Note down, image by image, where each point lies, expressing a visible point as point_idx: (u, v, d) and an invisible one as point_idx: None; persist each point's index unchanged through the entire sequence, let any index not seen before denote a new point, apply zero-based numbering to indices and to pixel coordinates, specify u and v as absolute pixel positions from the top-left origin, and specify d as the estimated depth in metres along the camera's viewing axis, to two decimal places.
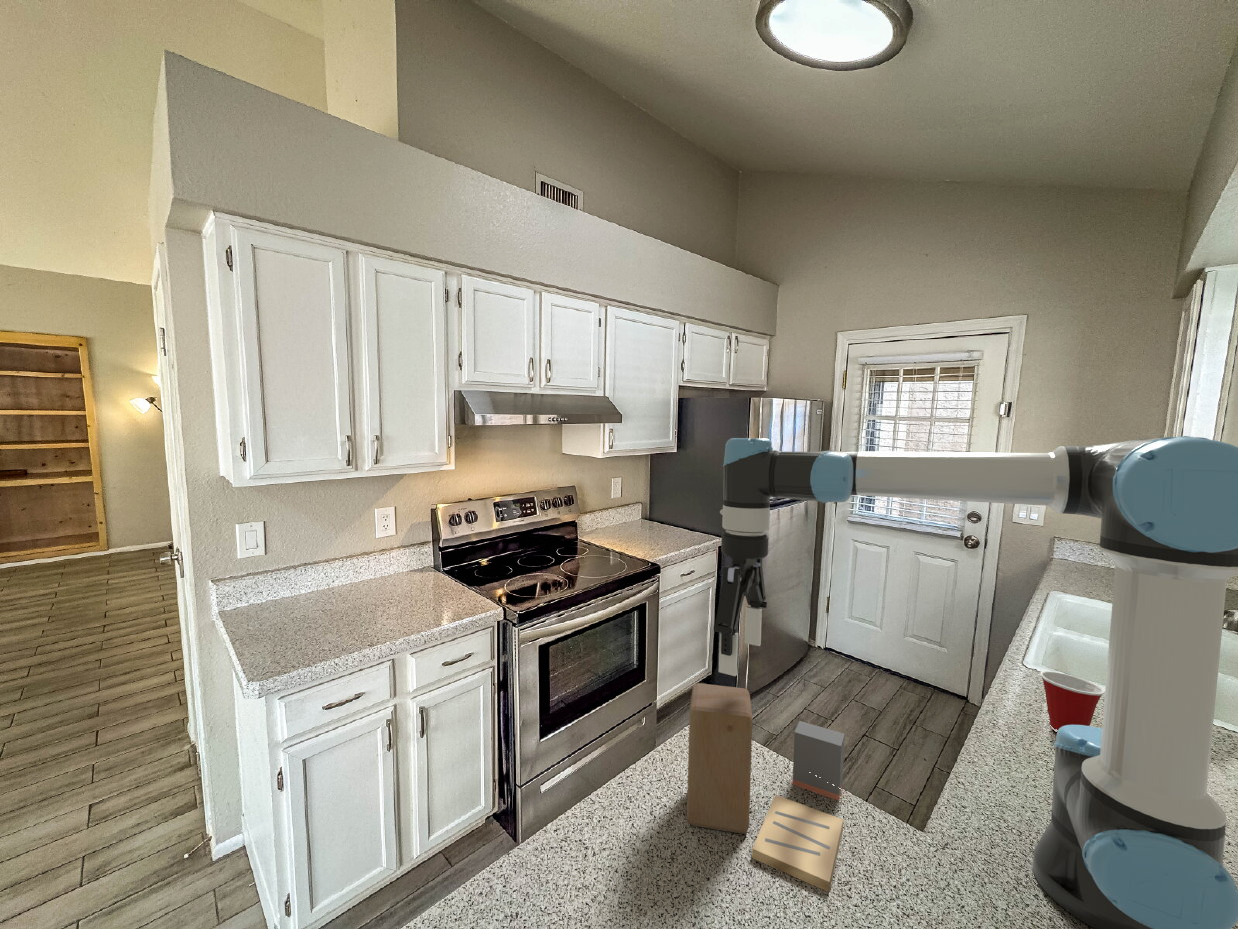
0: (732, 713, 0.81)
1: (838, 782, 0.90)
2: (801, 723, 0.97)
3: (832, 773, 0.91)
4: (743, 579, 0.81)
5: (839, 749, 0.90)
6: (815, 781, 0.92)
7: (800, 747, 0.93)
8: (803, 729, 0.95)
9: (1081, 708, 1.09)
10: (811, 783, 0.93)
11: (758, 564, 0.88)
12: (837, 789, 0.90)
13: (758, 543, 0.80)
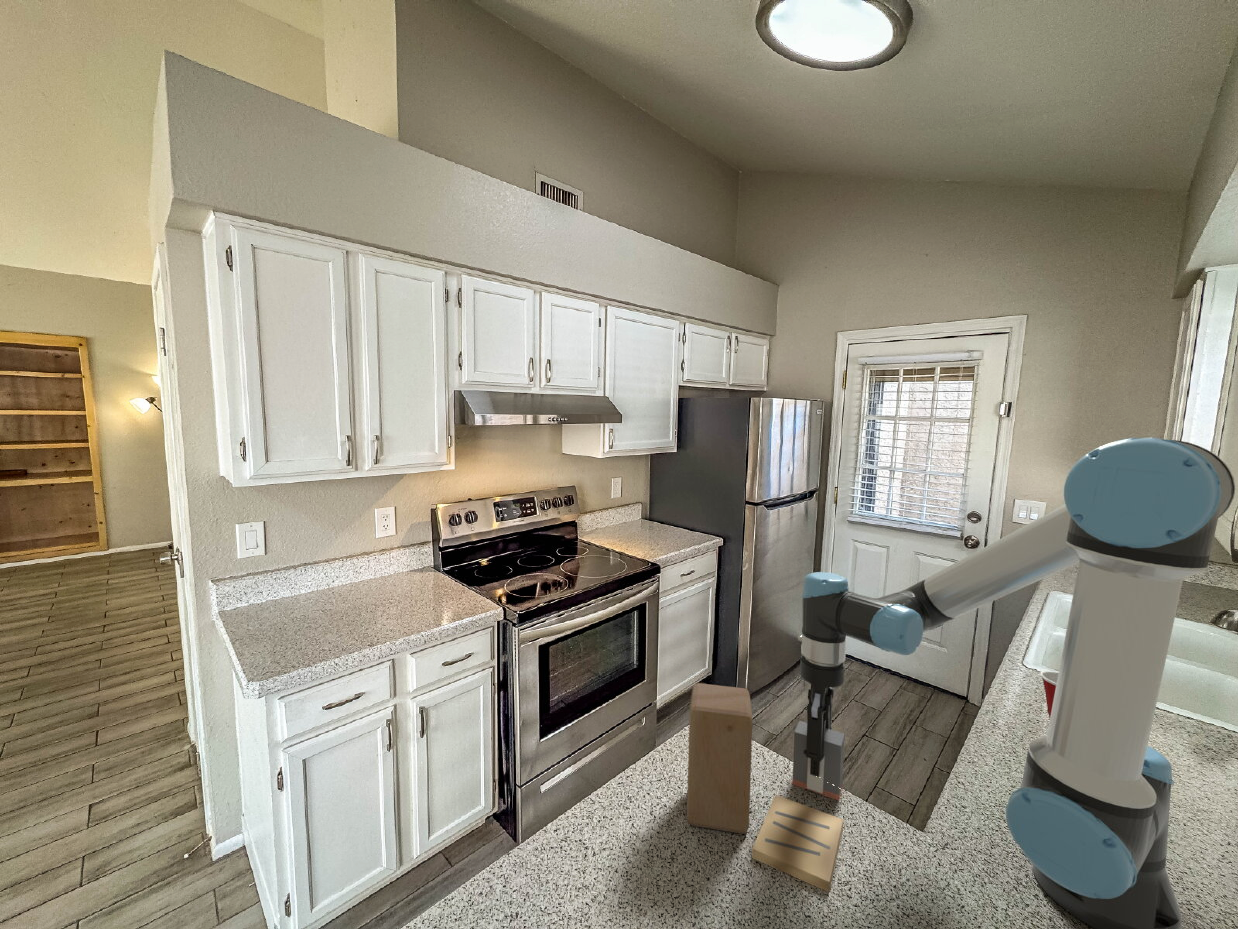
0: (732, 713, 0.81)
1: (838, 782, 0.90)
2: (801, 723, 0.97)
3: (832, 773, 0.91)
4: (823, 705, 0.90)
5: (839, 749, 0.90)
6: None
7: (800, 746, 0.93)
8: (803, 728, 0.95)
9: None
10: None
11: (830, 688, 0.97)
12: (837, 789, 0.90)
13: (837, 673, 0.90)
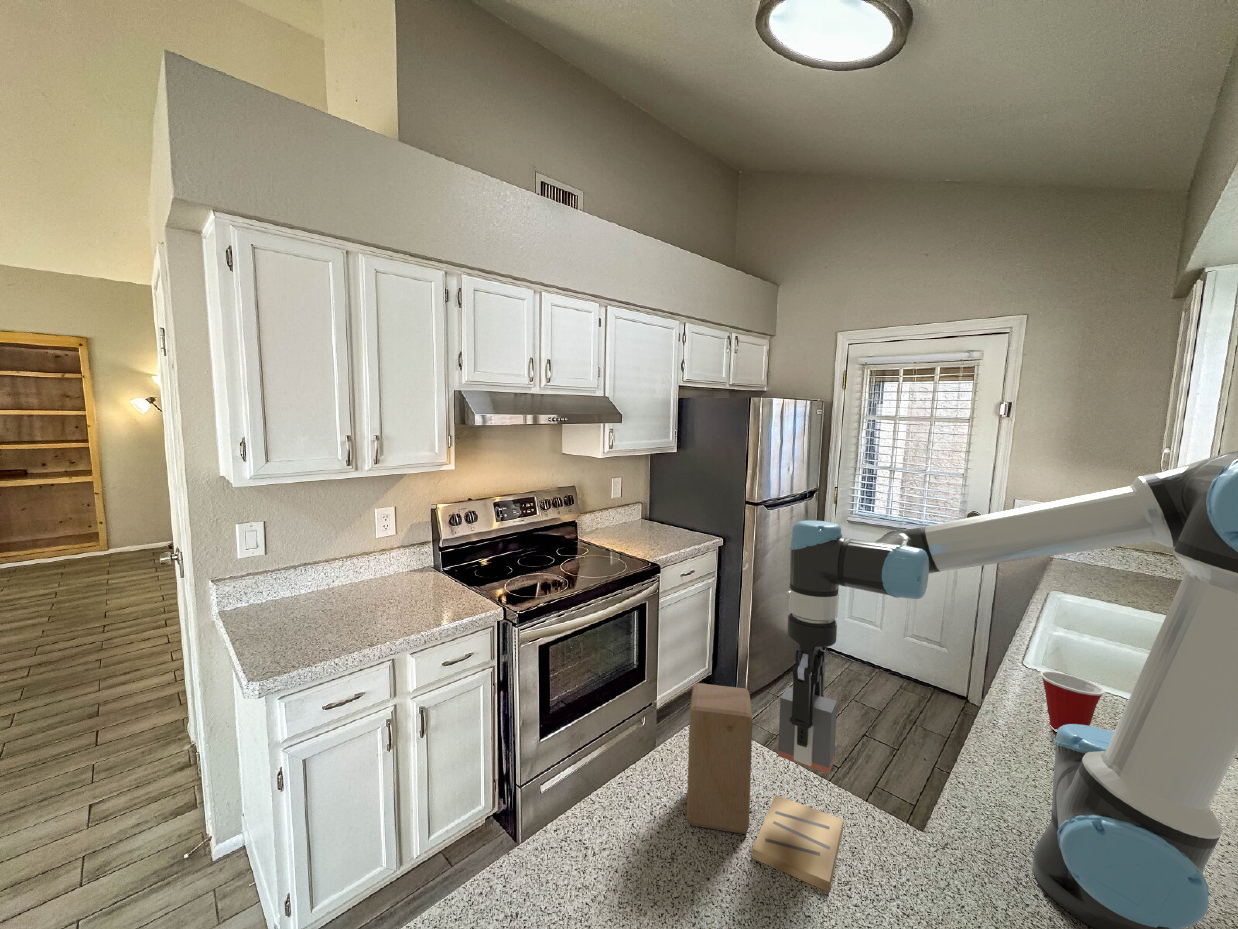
0: (732, 713, 0.81)
1: (828, 753, 0.80)
2: (789, 689, 0.87)
3: (822, 744, 0.81)
4: (812, 667, 0.80)
5: (829, 716, 0.80)
6: None
7: (786, 714, 0.84)
8: (790, 695, 0.85)
9: (1081, 708, 1.09)
10: None
11: None
12: (827, 761, 0.80)
13: (827, 631, 0.80)
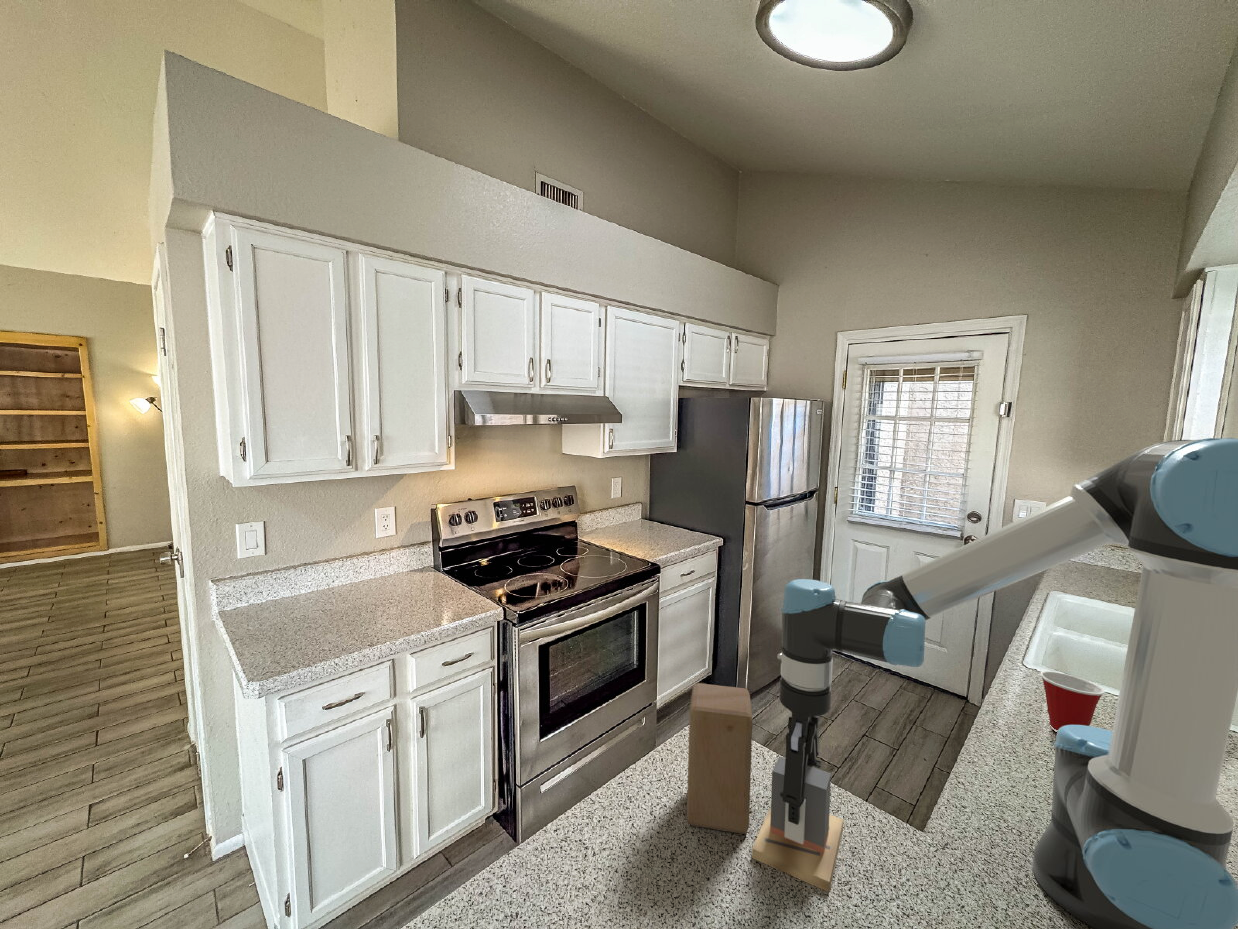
0: (732, 713, 0.81)
1: (823, 832, 0.76)
2: (781, 759, 0.83)
3: (816, 821, 0.77)
4: (806, 736, 0.76)
5: (824, 793, 0.76)
6: None
7: (778, 788, 0.80)
8: (783, 766, 0.81)
9: (1081, 708, 1.09)
10: None
11: None
12: (821, 840, 0.77)
13: (821, 700, 0.76)
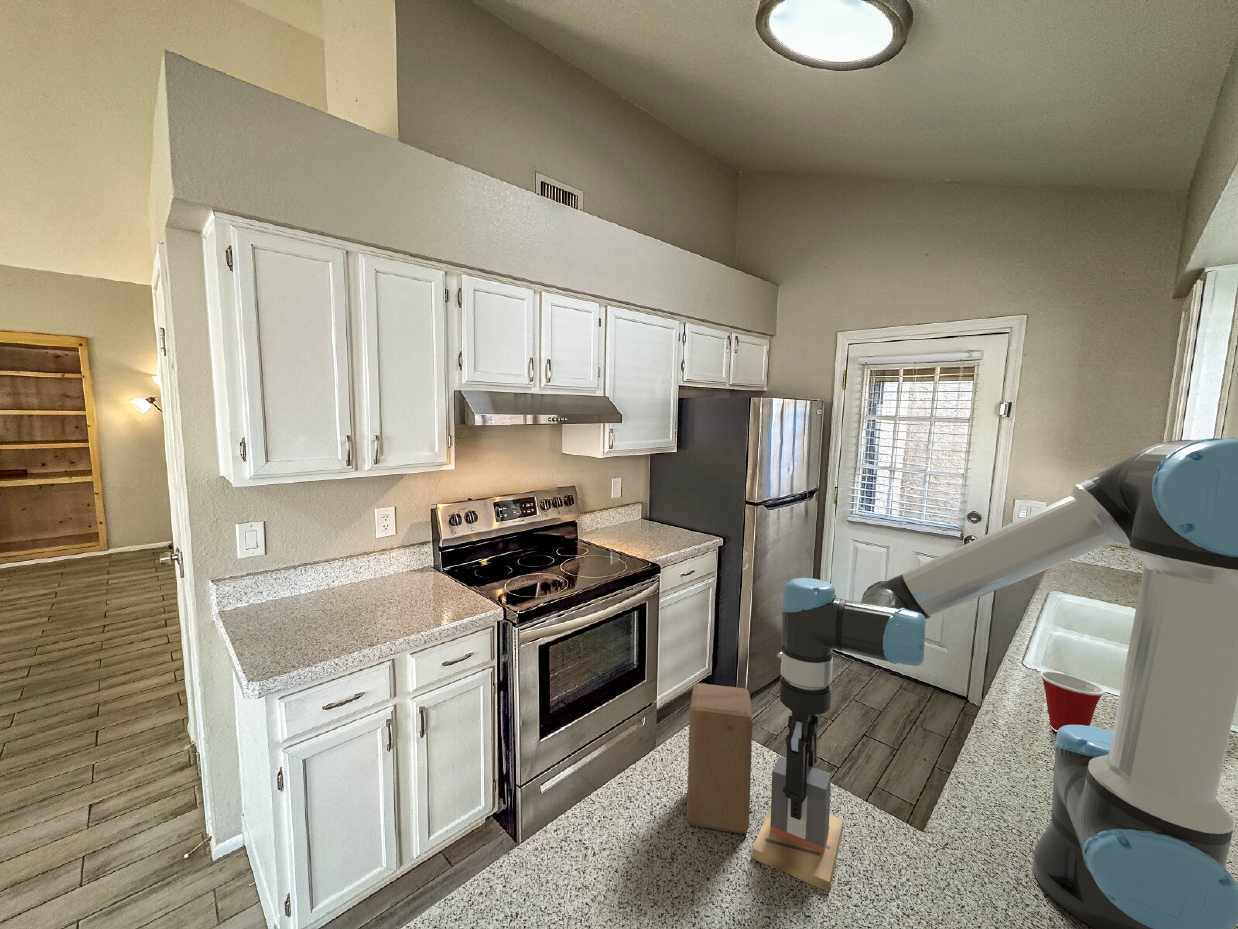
0: (732, 713, 0.81)
1: (823, 832, 0.76)
2: (781, 759, 0.83)
3: (816, 821, 0.77)
4: (806, 735, 0.76)
5: (824, 793, 0.76)
6: None
7: (778, 788, 0.80)
8: (783, 767, 0.81)
9: (1081, 708, 1.09)
10: None
11: None
12: (821, 840, 0.77)
13: (821, 698, 0.76)
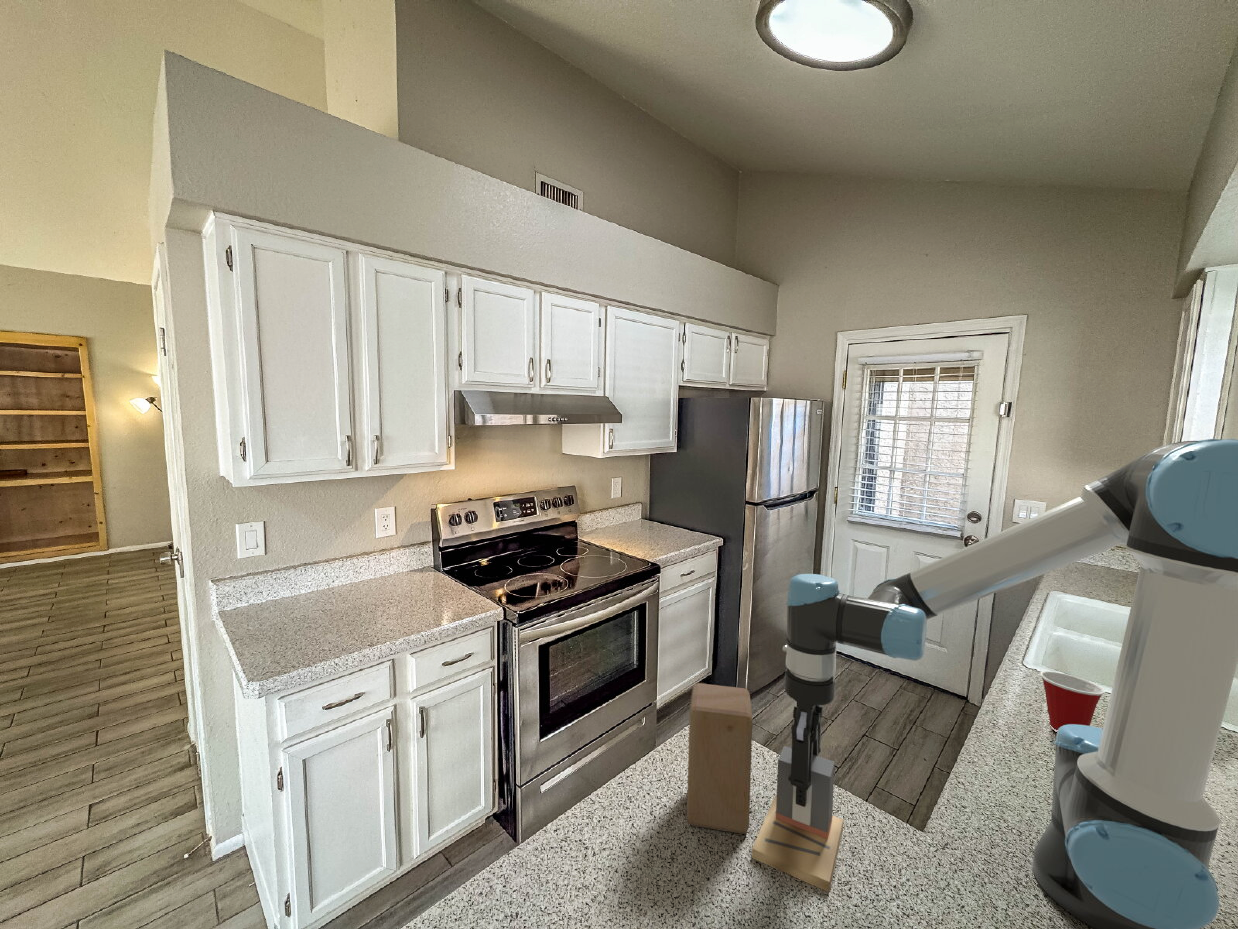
0: (732, 713, 0.81)
1: (827, 818, 0.79)
2: (786, 748, 0.86)
3: (820, 808, 0.80)
4: (810, 725, 0.79)
5: (828, 780, 0.79)
6: None
7: (784, 776, 0.83)
8: (788, 755, 0.84)
9: (1081, 708, 1.09)
10: None
11: None
12: (826, 826, 0.79)
13: (825, 689, 0.79)
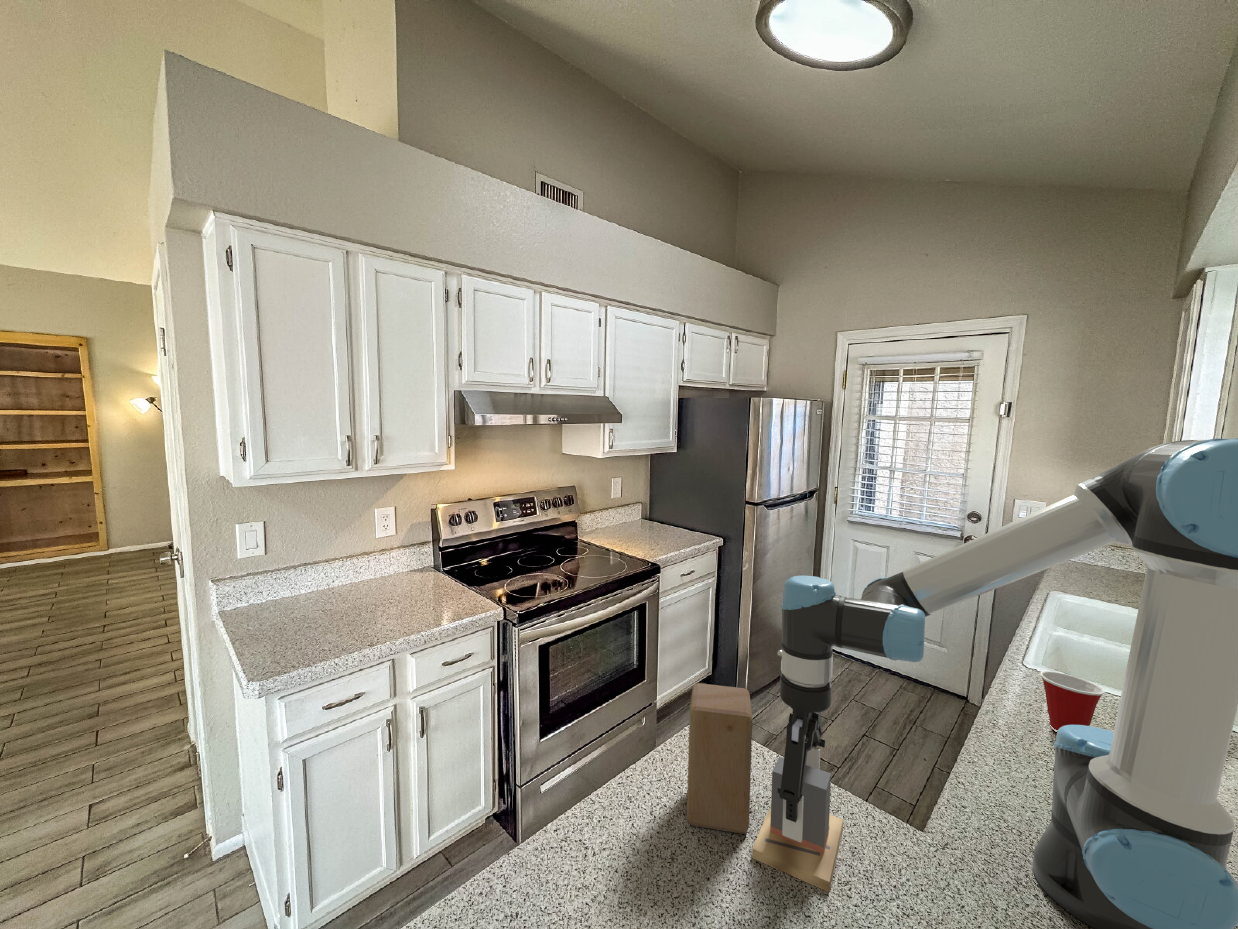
0: (732, 713, 0.81)
1: (823, 832, 0.76)
2: (781, 759, 0.83)
3: (816, 822, 0.77)
4: (806, 733, 0.76)
5: (824, 793, 0.76)
6: None
7: None
8: None
9: (1081, 708, 1.09)
10: None
11: None
12: (821, 840, 0.77)
13: (822, 696, 0.76)
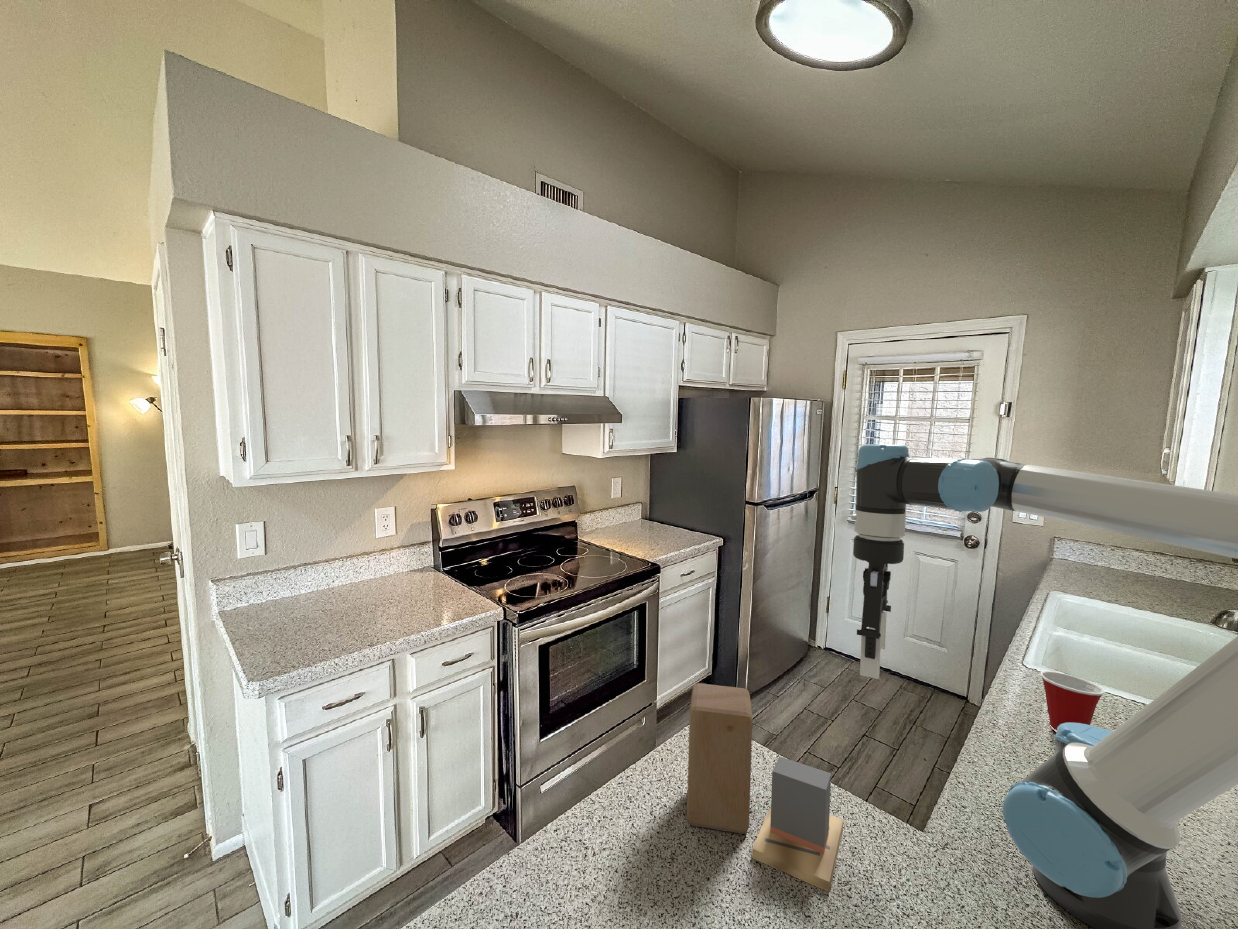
0: (732, 713, 0.81)
1: (823, 832, 0.76)
2: (781, 759, 0.83)
3: (816, 822, 0.77)
4: None
5: (824, 793, 0.76)
6: (796, 830, 0.78)
7: (778, 789, 0.80)
8: (783, 767, 0.81)
9: (1081, 708, 1.09)
10: (791, 832, 0.79)
11: (885, 568, 0.89)
12: (821, 840, 0.77)
13: (897, 548, 0.82)
